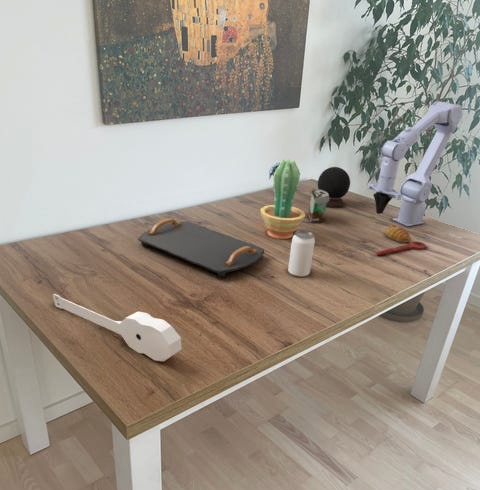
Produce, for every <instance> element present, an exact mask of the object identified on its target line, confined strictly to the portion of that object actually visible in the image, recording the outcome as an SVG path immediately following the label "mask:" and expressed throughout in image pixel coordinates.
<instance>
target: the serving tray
mask: <svg viewBox="0 0 480 490" xmlns="http://www.w3.org/2000/svg"><path fill="white" fill-rule="evenodd" d="M137 241H139V242H140V244H141V245H142V247H144V248H146V247H147V246H151V247H153V248H155V249H157V250H159V251H162V252H165V253H168V254H169V255H172V256H174V257H177V258H180V259H183V260H184V261H187V262H189V263H190V264H194V265H197V266H198V267H199V266H200V267H202V268H204V269H206V270H209V271H210V272H211V271H212V272H214V273H216V274H217V277H218V278H219V279H221V280H223V279H224V278H225V276H226V273H231V272H235V271H239V270H242V269H245V268H248V267H249V266H252V265H253V264H256V263H257V262H259V260H261V258H262V257H263V255H264V253H265V249H264V248H263V247H260V246H258V245H255V244H252V243H249V242H248V241H244V240H241V239H238V238H235V237H233V236H231V235H227V234H225V233H221V232H219V231H216V230H214V229H211V228H207V227H205V226H202V225H199V224H197V223H193V222H190V221H177V220H175V219H174V218H165V219H162V220H159V221H158V222H156V223H155V224H154V225H153V226H152V228H150V229H148V230H146V231H144V232H143V233H142V234H141V235H140V236H139V237H138V238H137Z"/></svg>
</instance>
